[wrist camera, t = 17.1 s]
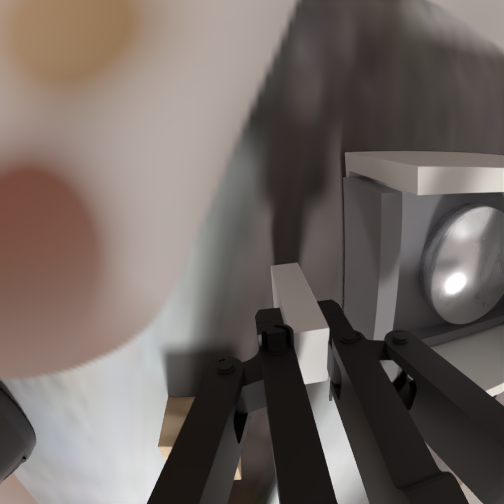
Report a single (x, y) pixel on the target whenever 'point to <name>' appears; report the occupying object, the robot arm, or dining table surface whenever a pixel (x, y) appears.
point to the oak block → (178, 425)
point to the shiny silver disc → (464, 263)
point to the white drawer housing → (446, 182)
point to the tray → (398, 260)
